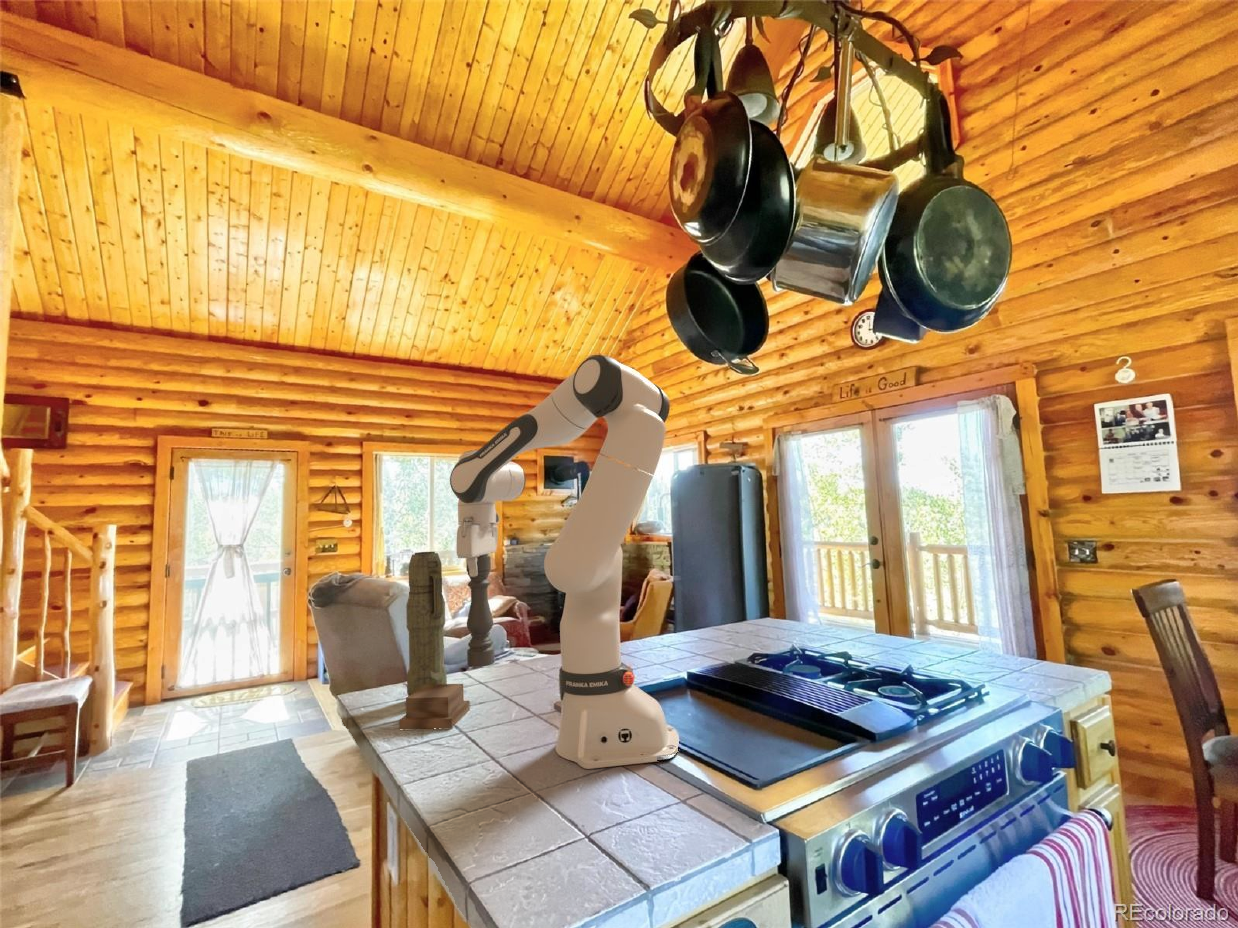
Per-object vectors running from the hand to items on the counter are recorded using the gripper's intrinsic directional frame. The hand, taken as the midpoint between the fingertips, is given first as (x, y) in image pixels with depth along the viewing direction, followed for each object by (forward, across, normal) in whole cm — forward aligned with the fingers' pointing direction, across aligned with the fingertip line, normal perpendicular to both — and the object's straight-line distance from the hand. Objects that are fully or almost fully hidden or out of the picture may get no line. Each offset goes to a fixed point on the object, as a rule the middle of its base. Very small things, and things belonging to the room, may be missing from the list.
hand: (479, 574), depth 133 cm
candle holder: (+21, 0, 0) cm, 21 cm away
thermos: (+29, 0, +14) cm, 32 cm away
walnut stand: (+29, -12, +6) cm, 32 cm away
